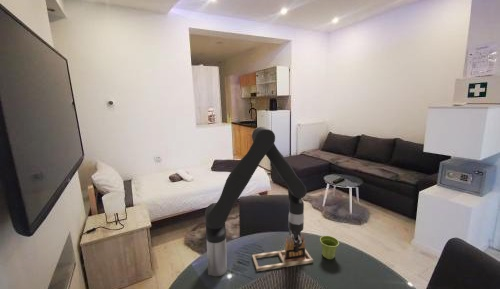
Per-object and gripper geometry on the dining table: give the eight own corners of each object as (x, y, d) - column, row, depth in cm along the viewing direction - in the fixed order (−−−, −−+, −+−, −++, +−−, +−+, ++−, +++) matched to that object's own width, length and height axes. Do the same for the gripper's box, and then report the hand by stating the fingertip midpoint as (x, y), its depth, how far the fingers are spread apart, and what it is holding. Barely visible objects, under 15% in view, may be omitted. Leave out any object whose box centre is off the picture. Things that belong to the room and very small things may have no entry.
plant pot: (335, 250, 127) (336, 236, 125) (340, 262, 118) (341, 246, 116) (317, 249, 128) (318, 235, 126) (321, 261, 119) (322, 245, 117)
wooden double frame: (256, 271, 112) (256, 268, 111) (252, 257, 122) (252, 254, 121) (313, 262, 118) (313, 259, 117) (304, 249, 127) (304, 247, 127)
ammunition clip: (285, 259, 119) (286, 238, 117) (284, 257, 121) (284, 236, 118) (305, 256, 121) (306, 235, 119) (303, 254, 123) (304, 233, 121)
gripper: (284, 214, 123) (283, 243, 126) (294, 228, 110) (293, 260, 113) (297, 212, 124) (296, 241, 128) (309, 226, 111) (307, 258, 114)
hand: (294, 250), depth 120 cm, fingers closed on ammunition clip, 2 cm apart
